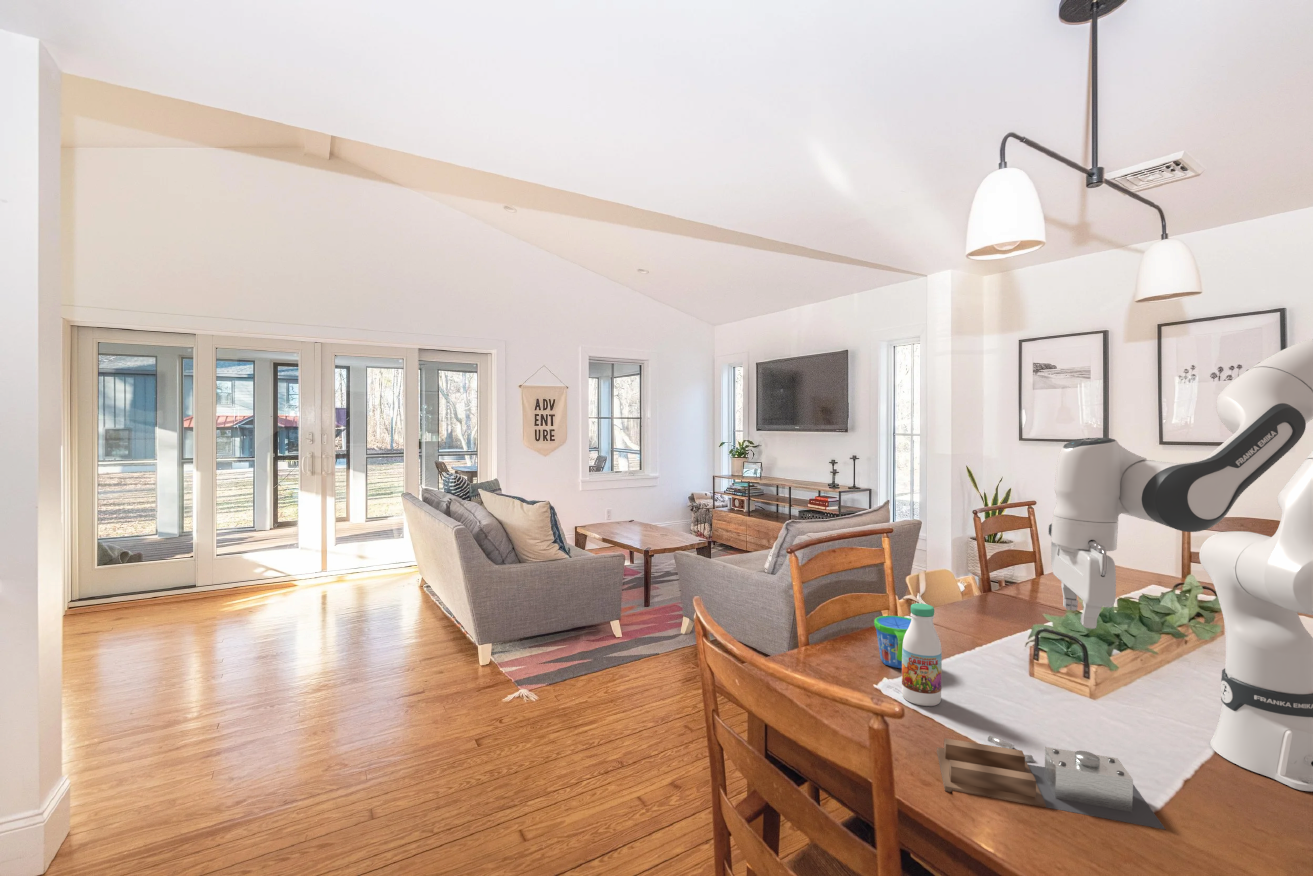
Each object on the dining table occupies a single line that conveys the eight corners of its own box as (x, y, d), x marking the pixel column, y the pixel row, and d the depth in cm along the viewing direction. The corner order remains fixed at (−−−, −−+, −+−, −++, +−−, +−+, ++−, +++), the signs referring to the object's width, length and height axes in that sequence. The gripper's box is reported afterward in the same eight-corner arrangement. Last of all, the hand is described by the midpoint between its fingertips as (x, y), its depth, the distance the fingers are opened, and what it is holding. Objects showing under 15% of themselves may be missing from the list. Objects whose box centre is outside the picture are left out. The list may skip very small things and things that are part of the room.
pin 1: (1011, 744, 108) (1010, 752, 107) (1014, 745, 109) (1013, 753, 108) (988, 734, 111) (986, 742, 111) (991, 735, 112) (990, 743, 111)
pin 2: (1029, 760, 105) (1029, 753, 105) (1033, 765, 104) (1034, 758, 104) (1005, 759, 106) (1005, 751, 106) (1009, 764, 104) (1009, 757, 104)
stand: (1026, 766, 103) (1026, 747, 103) (1045, 809, 92) (1046, 788, 92) (936, 751, 108) (937, 733, 108) (944, 791, 97) (945, 770, 97)
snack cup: (873, 648, 156) (873, 609, 155) (917, 653, 152) (918, 614, 152) (874, 673, 141) (875, 630, 140) (923, 679, 137) (924, 635, 137)
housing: (1116, 788, 97) (1117, 752, 96) (1132, 812, 91) (1133, 773, 91) (1044, 776, 100) (1045, 741, 100) (1055, 798, 94) (1056, 760, 94)
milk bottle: (896, 690, 132) (897, 600, 131) (931, 690, 132) (933, 600, 131) (909, 707, 124) (911, 611, 124) (947, 707, 124) (949, 612, 123)
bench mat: (1131, 784, 98) (1131, 781, 98) (1165, 832, 87) (1165, 829, 87) (1019, 765, 104) (1019, 763, 104) (1038, 808, 92) (1038, 805, 92)
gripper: (1131, 550, 89) (1125, 642, 89) (1086, 526, 108) (1081, 602, 109) (1081, 546, 91) (1076, 635, 92) (1045, 523, 110) (1041, 598, 111)
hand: (1078, 617), depth 100 cm, fingers open, 8 cm apart
